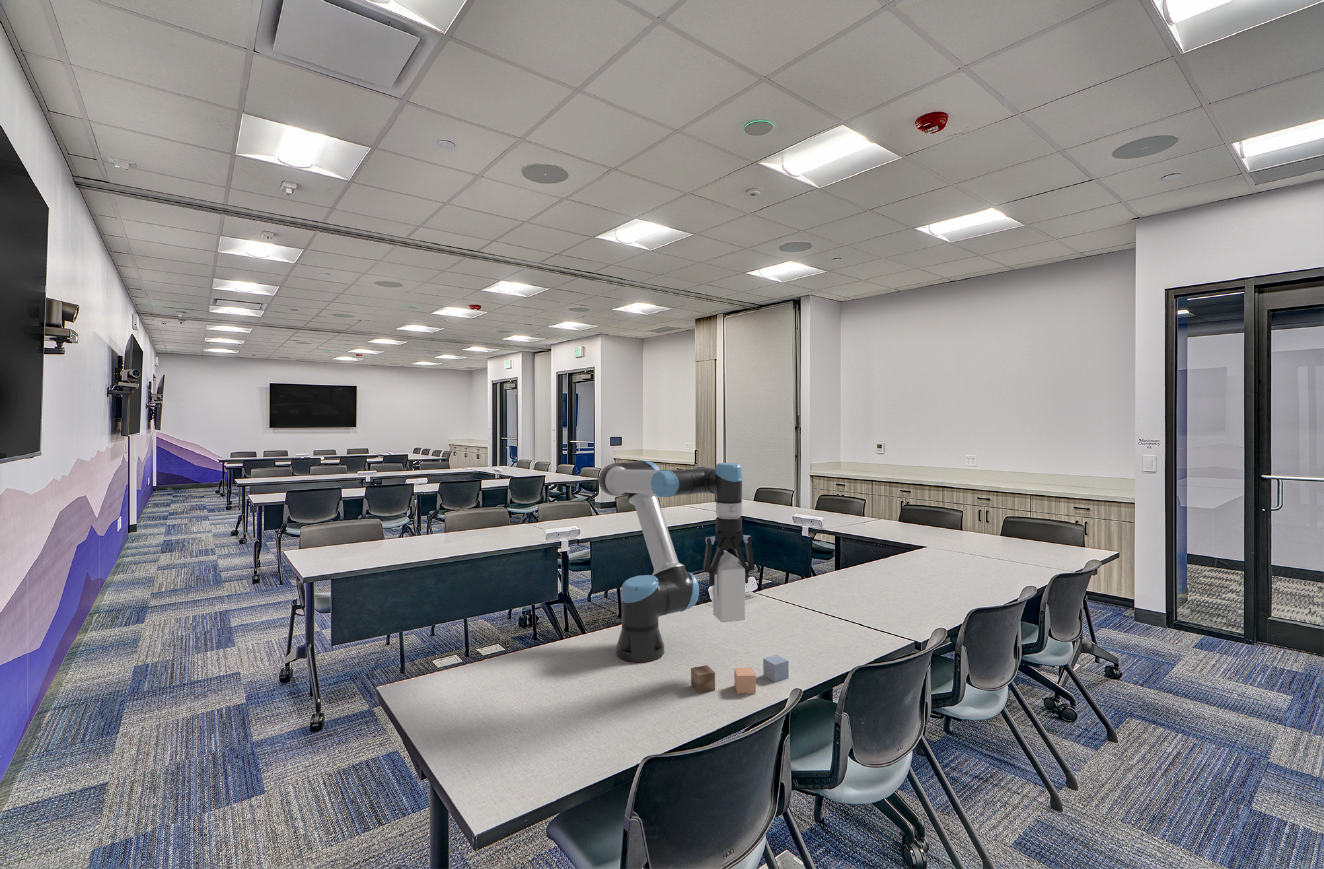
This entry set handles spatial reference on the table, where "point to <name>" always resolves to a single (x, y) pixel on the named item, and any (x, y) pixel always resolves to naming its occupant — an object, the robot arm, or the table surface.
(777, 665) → the slate cube
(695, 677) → the walnut cube
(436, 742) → the table surface
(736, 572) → the milk carton
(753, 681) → the terracotta cube
